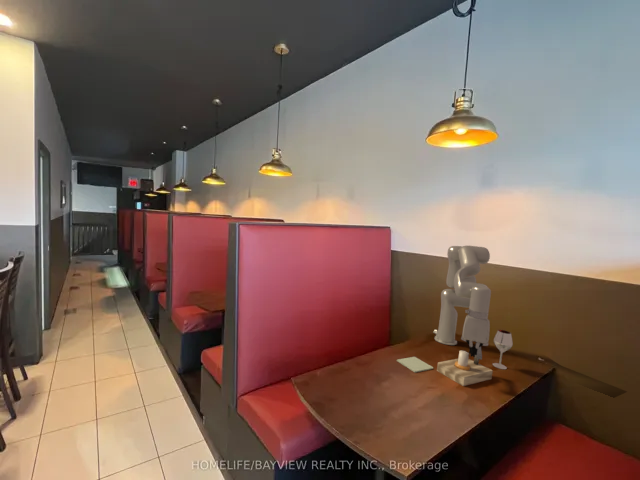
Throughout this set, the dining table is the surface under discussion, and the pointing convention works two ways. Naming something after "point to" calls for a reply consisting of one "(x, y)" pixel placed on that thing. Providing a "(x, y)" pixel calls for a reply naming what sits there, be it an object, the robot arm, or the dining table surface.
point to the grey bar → (478, 356)
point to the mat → (415, 364)
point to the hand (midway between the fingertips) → (472, 355)
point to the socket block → (464, 372)
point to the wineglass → (502, 345)
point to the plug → (463, 361)
